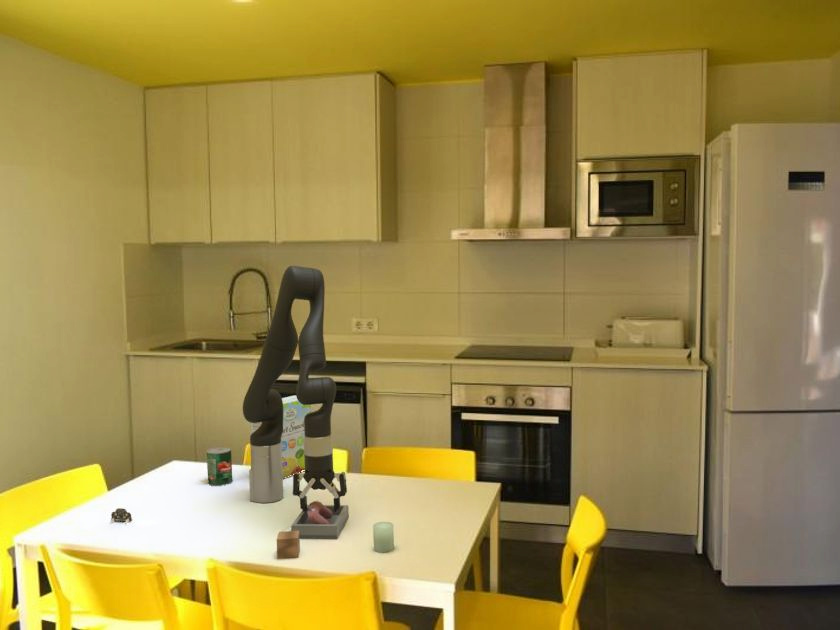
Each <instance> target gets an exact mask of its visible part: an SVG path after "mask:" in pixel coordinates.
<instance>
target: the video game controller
mask: <svg viewBox="0 0 840 630" xmlns="http://www.w3.org/2000/svg"><path fill="white" fill-rule="evenodd" d="M308 505H309V511H308V512H307V513H308V516H309V519H310V520H311V522H312V523H314V524H329V522H328V521H327V520H326V519H324V518H323V517H326V518H331V517H332V516H333V514H332V511H331V510H330V509H328V508H327V507H325V506H324V505H325V504H323V503H322V502H321V501H319V500H318V499H317V500H316V501H312V502H310V503H309V504H308ZM322 516H323V517H322Z"/></svg>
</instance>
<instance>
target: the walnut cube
mask: <svg viewBox="0 0 840 630" xmlns="http://www.w3.org/2000/svg"><path fill="white" fill-rule="evenodd" d="M276 537H277V538H276V555H277V556H276V557H277V558H276V559H277V560H284V559H285V560H287V559H288V560H289V559H298V558H299V555H300V551H301V546H300V544H301V543H300V542H301V541H300V539H299V531H291V530H289V531H287V530H286V531H284V530H283V531H278V533H277V536H276Z"/></svg>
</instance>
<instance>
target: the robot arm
mask: <svg viewBox="0 0 840 630" xmlns="http://www.w3.org/2000/svg"><path fill="white" fill-rule="evenodd" d="M278 290H279V291H278V294H277V300H276V303H275V304H276V305H275V308H274V313H273V316H272V319H271V322H270V325H269V328H268V332H267V335H266V336H265V337H266V338H265V339H264V343H263V346H262V351H261V354H260V357H259V361H258V363H257V367H256V369H255V372H254V375H253V377H252V380H251V382H250V384H249V385H248V386H249V387H248V389H247V391H246V394H245V396H244V398H243V403H242V414H243V417H244V419H245V420H246V421H247V422H248V423H250V422H251V423H259V422H262V423H261V425H260V427H259V428H258V429H257V430H256V431H255V432H253V433H252V434H251V436H249V444H250V469H249V471H248V472H249V473H248V474H249V475H248V476H249V477H248V479H249V496H250V501H249V502H254V503H262V504H265V503H266V504H267V503H269V504H270V503H274V502H279V501H280V500H282V499H283V498H284V479H283V474H282V449H281V436H282V433H283V401H282V398H283V397H282V395H281V394H280V392H278V390H276V389H274V388H273V389H272V387H273V385H275V383H276V381H277V380H278V379H279V378H280V377H281V376H282V375H283V373H284V372H285V371H286V370H287V369H288V368H289V366H290V365H291V363H292V362H293V359H294V357H295V353H296V351H297V348H298V355H299V358H298V359H299V374H298V375H299V376H298V380H297V384H296V390H295V395H296V397H297V399H298V401H299V402H300V403H301V404H303V405H321V406H320V407H319V409H317V410H314V411H311V413H309V414H307V415H306V416H305V417H304V431H305V439H304V457H305V471H304V472H302V473H299V472H296V473H295V474H294V475H293V476H292V495H293V496H294V497H298V498H299V505H300V507H299V508H300V510H303V512H306V510H307V505H308V501H307V500H308V496H307V494H308V493H309V490H310V489H312V490H314V491H315V490H321V491H323V490H324V491H326V490H327V491H328V492H329V493H330V494H331V495H332V496H333V505H334V512H337V511H338V510H339V508H340V505H341V497H345V496H346V494H347V492H348V488H347V487H348V486H347V477H346V476H347V475H346V472H345V471H341V472H337V473H336V472H335V470H334V456H333V455H334V454H333V453H334V449H333V448H334V446H333V440H332V425H331V423H332V422H331V420H332V411H333V406H334V403H335V399H336V396H337V395H336V394H337V384H336V382H335V380H334V379H333V378H332V377H330V376H322V377H318V376H317V377H310V374H312V373H315V372H318V371H321V370H323V369H325V367H326V366H327V357H326V347H325V338H324V318H325V317H324V316H325V278H324V274H323V273H322V271H321V270H320V269H318V268H313V267H307V266H300V265H290V266H288V267H286V269H285V270H284V273H283V275H282V277H281V282H280V286H279V289H278ZM295 300H302V301H309V313H308V317H307V319H306V322H305V323H304V324H303V327H302V329H301V331H300V333H299V335H298V331H297V329H296V326H295V323H294V320H293V316H292V309H293V304H294V301H295ZM303 479H304V481H305V483H306V486H305V487H304V488H303V489H302V490H300V489H301V488H300V483H301V482H302V480H303ZM334 479H336V481H337V482H339V489H338V487H337V486H336V484H335V482H333V481H334Z"/></svg>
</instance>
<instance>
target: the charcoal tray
mask: <svg viewBox="0 0 840 630" xmlns="http://www.w3.org/2000/svg"><path fill="white" fill-rule="evenodd" d="M323 505H324V506H325V507H327V508H328V509H330V510H331V511H332V514H333V516H332V517H331V518H326V517H323V516H322V517H323V518H324V519H326V520H327V521H328V522H329V524H314V523H312V522H311V520H310V519H309V516H308V513H307V512H308V511H309V504H307V510H306V512H303V509H301V512H300V513H299V514H298V515H297V516H296V518H295V520H294V521H293V522H292V523H291V525H290V529H291V530H290V531H299V539H301V540H304V539H306V540H338V539H339V536H340V535H341V533H342V532H343V530H344V527H345V525H346V523H347V521H348V520H349V518H350V517H349V516H350V515H349V513H350V512H349V510H350V509H349V504H340V508H339V510H338V511H337V512H334V504H323Z"/></svg>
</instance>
